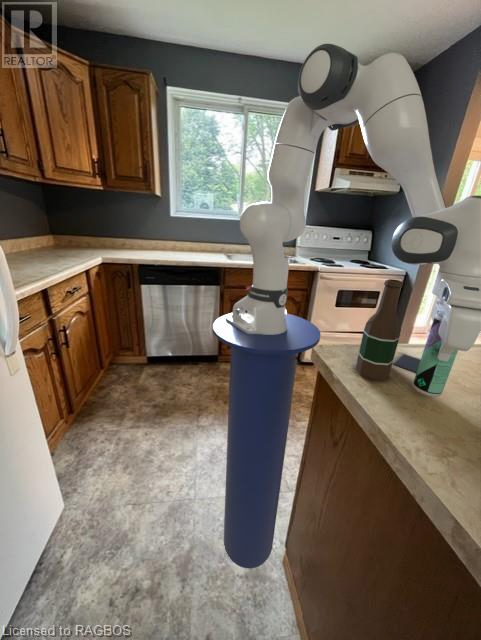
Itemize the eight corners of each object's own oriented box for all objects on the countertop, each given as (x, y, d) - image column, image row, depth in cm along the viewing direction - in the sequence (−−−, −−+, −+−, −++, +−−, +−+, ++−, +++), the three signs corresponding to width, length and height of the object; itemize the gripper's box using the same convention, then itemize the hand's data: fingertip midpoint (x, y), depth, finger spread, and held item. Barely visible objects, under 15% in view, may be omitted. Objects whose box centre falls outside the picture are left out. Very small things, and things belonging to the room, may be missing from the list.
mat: (393, 364, 74) (393, 363, 74) (403, 354, 80) (403, 354, 80) (436, 379, 67) (436, 379, 67) (444, 368, 73) (444, 367, 73)
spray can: (431, 383, 63) (460, 300, 56) (447, 397, 57) (481, 308, 50) (407, 381, 63) (433, 298, 56) (421, 396, 58) (452, 306, 51)
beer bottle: (370, 383, 64) (395, 284, 56) (348, 367, 71) (367, 277, 63) (395, 379, 67) (422, 283, 59) (372, 364, 74) (393, 276, 65)
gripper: (434, 277, 62) (417, 333, 67) (451, 297, 45) (427, 369, 50) (468, 281, 59) (448, 338, 64) (500, 303, 42) (470, 379, 47)
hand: (439, 352), depth 57 cm, fingers closed on spray can, 5 cm apart
